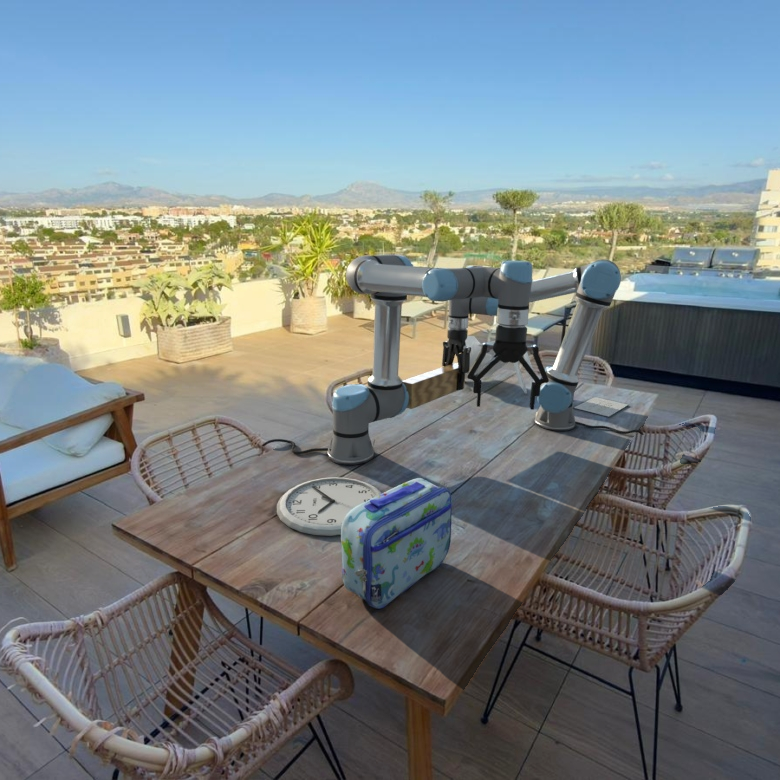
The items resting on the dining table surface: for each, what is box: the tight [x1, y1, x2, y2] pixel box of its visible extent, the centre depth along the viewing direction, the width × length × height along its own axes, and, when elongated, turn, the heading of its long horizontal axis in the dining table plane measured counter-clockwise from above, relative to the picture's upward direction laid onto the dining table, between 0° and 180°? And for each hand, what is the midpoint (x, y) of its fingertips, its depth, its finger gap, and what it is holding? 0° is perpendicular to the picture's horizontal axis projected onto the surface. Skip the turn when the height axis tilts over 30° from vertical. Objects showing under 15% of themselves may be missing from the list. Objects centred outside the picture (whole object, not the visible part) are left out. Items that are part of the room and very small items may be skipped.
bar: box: [402, 362, 466, 410], centre depth 193 cm, size 33×5×9 cm, turn 138°
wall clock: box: [276, 476, 383, 537], centre depth 142 cm, size 30×2×30 cm
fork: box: [437, 482, 448, 488], centre depth 145 cm, size 3×16×2 cm, turn 160°
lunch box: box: [340, 477, 452, 610], centre depth 110 cm, size 26×11×21 cm, turn 134°
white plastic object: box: [456, 335, 535, 394], centre depth 253 cm, size 37×45×31 cm
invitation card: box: [573, 396, 629, 418], centre depth 226 cm, size 21×1×15 cm
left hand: (504, 406), depth 135 cm, fingers open, 13 cm apart
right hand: (454, 387), depth 203 cm, fingers closed on bar, 6 cm apart
